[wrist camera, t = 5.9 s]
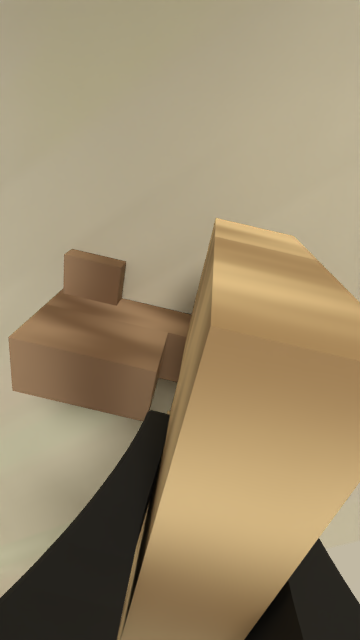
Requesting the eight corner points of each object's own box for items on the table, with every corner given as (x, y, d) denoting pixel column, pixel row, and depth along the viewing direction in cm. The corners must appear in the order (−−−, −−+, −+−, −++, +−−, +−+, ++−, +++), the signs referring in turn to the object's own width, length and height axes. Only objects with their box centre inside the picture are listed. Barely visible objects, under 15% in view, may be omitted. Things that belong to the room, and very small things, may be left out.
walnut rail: (64, 357, 17) (15, 424, 13) (67, 247, 14) (4, 289, 10) (324, 418, 17) (356, 504, 13) (381, 321, 14) (448, 393, 10)
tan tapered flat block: (201, 486, 15) (188, 715, 9) (151, 474, 15) (104, 695, 9) (293, 236, 10) (435, 378, 3) (215, 217, 10) (210, 325, 3)
